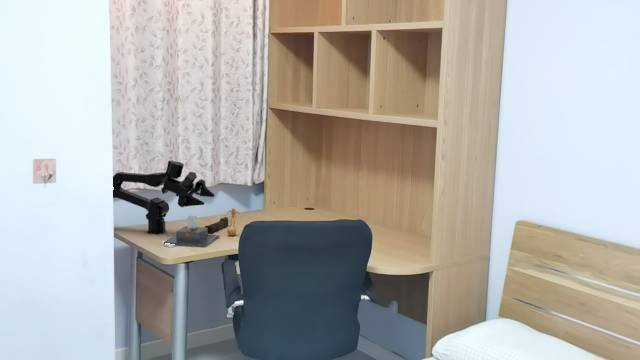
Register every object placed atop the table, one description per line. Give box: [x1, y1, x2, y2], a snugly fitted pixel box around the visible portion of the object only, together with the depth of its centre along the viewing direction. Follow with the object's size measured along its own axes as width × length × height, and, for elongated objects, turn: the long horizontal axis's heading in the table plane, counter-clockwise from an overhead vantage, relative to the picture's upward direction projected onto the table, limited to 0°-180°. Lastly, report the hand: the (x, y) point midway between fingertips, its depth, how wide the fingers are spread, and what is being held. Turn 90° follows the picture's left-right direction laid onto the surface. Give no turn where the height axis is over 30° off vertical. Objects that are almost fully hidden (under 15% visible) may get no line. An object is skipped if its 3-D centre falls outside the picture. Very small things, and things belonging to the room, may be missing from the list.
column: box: [186, 215, 198, 231], centre depth 297 cm, size 3×3×9 cm
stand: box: [163, 225, 220, 248], centre depth 297 cm, size 18×18×6 cm
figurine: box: [223, 207, 243, 237], centre depth 309 cm, size 8×6×12 cm
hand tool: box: [204, 216, 229, 235], centre depth 320 cm, size 19×4×5 cm, turn 157°
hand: (209, 199), depth 304 cm, fingers open, 9 cm apart
